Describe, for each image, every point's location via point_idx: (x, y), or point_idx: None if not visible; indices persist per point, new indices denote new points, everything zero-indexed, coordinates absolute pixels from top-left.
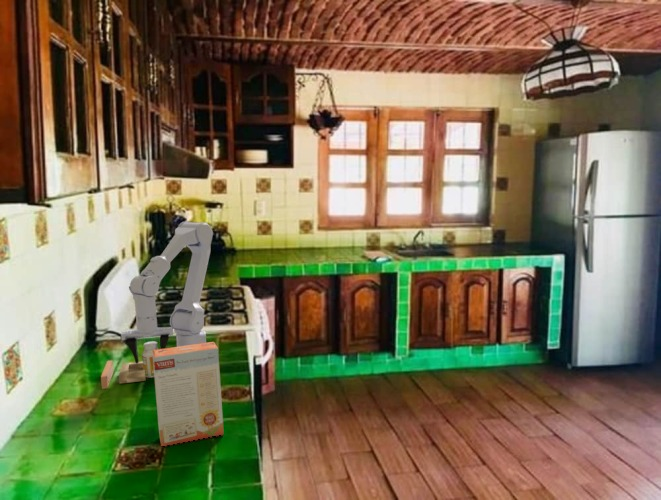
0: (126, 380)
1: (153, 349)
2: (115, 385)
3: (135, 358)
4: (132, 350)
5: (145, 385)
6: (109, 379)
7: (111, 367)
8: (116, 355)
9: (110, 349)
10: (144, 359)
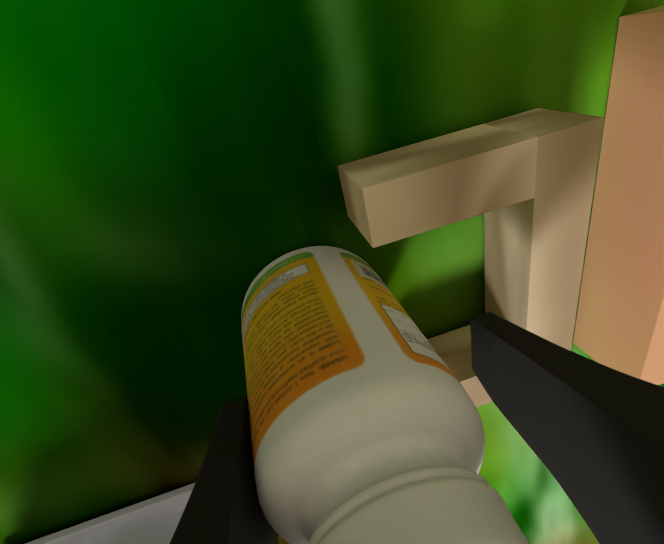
0: (497, 126)
1: (345, 501)
2: (560, 89)
3: (527, 337)
4: (660, 397)
5: (304, 61)
6: (618, 166)
7: (629, 315)
8: (560, 503)
9: (581, 539)
10: (421, 344)
